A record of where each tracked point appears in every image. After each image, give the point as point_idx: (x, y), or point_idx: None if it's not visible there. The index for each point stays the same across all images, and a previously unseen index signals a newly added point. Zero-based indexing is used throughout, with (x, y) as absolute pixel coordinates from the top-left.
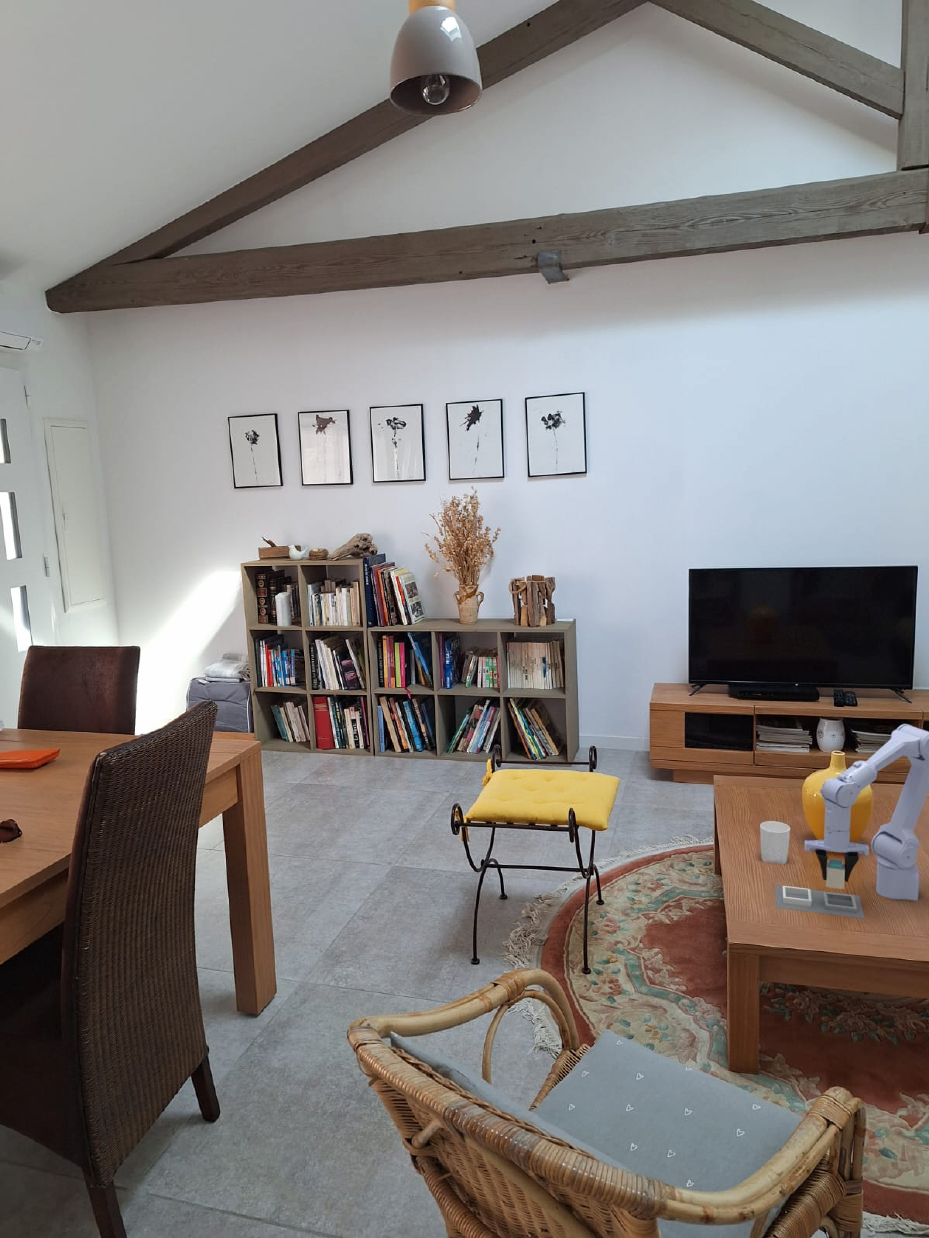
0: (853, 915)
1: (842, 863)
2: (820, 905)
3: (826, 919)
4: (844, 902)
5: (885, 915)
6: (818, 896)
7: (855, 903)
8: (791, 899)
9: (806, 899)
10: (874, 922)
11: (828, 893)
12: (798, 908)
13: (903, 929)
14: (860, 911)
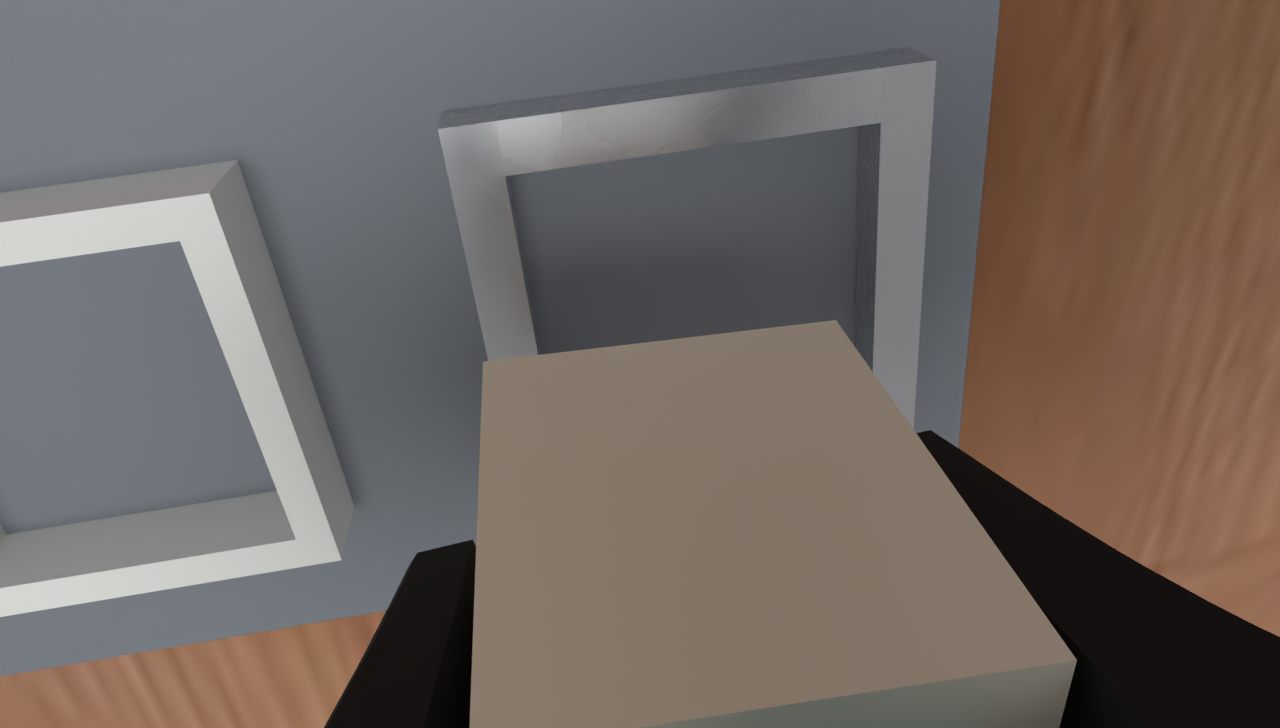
0: None
1: (1013, 693)
2: (456, 433)
3: None
4: (761, 221)
5: (1205, 241)
6: (380, 181)
7: (912, 322)
8: (69, 596)
9: (264, 548)
10: (1034, 444)
11: (529, 157)
12: (219, 603)
13: (1277, 461)
14: (936, 383)
